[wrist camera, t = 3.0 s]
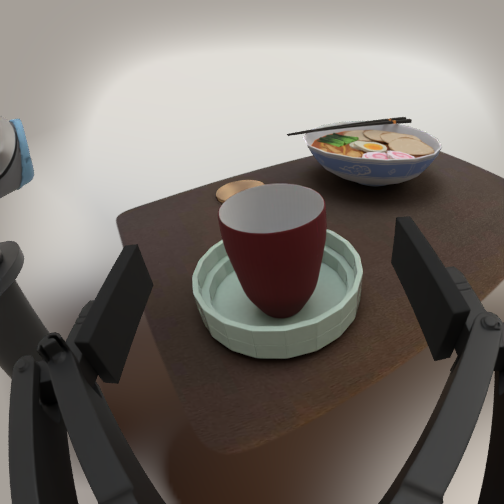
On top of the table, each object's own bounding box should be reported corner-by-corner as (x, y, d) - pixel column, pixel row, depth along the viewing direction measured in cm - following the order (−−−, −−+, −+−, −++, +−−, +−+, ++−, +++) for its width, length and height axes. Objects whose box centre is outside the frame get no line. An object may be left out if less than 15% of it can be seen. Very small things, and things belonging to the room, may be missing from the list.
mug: (231, 269, 35) (213, 183, 29) (305, 254, 35) (299, 167, 29) (244, 345, 26) (220, 244, 20) (338, 324, 26) (342, 220, 21)
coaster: (229, 209, 48) (228, 206, 47) (209, 193, 54) (208, 190, 54) (275, 193, 50) (275, 189, 50) (251, 179, 56) (250, 176, 56)
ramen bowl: (334, 225, 40) (333, 164, 36) (282, 167, 59) (278, 125, 55) (469, 194, 43) (475, 146, 38) (394, 150, 62) (394, 113, 57)
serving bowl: (247, 393, 23) (238, 364, 21) (182, 288, 34) (172, 258, 32) (391, 307, 28) (397, 273, 25) (299, 238, 39) (297, 208, 37)
